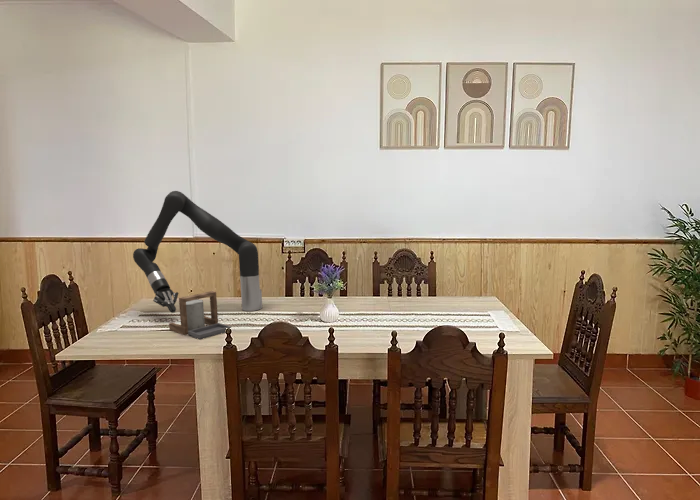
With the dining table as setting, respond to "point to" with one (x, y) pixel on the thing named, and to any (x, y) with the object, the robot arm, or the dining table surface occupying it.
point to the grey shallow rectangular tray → (208, 331)
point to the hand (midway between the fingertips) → (173, 311)
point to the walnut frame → (183, 312)
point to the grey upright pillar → (195, 314)
